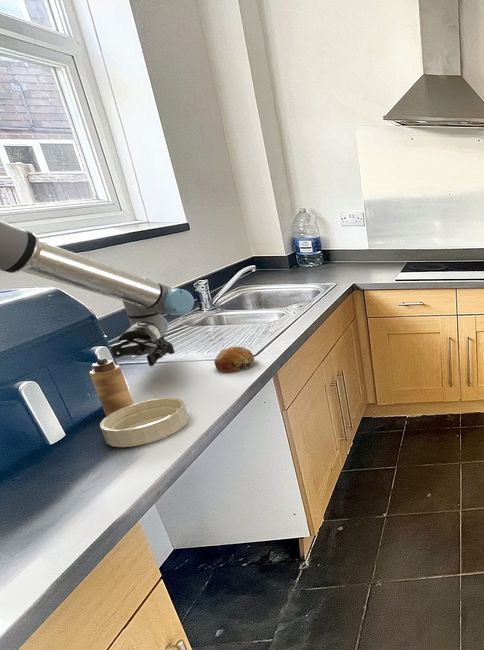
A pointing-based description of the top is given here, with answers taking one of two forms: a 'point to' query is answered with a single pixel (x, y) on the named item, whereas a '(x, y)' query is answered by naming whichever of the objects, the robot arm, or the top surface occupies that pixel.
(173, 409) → the bowl
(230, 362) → the bread roll
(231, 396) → the top surface
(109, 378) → the pepper mill
